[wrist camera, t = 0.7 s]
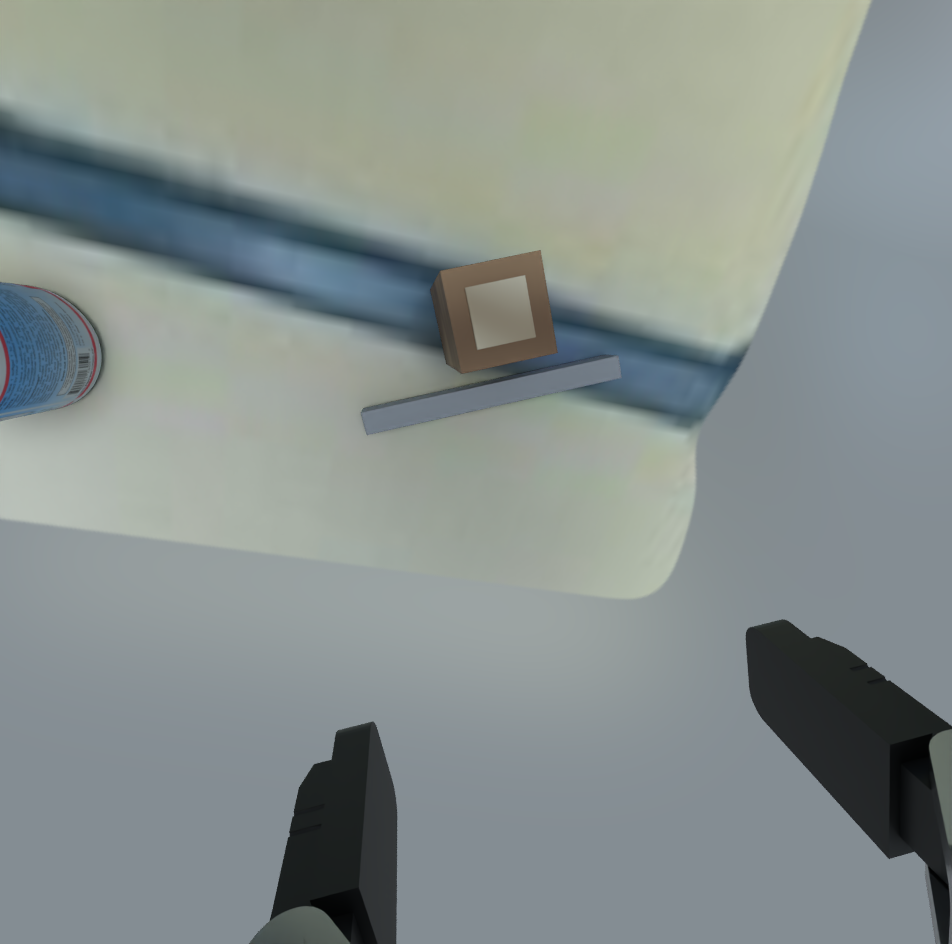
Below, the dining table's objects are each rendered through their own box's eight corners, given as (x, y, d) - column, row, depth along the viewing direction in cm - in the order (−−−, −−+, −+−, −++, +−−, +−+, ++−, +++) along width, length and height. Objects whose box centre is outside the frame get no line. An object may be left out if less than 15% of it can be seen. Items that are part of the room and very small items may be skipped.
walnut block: (430, 289, 31) (440, 270, 22) (502, 274, 31) (541, 249, 22) (446, 363, 32) (462, 374, 23) (516, 348, 32) (558, 352, 23)
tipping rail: (363, 408, 32) (360, 412, 30) (605, 354, 33) (618, 355, 31) (369, 429, 32) (366, 435, 30) (608, 375, 33) (621, 377, 31)
